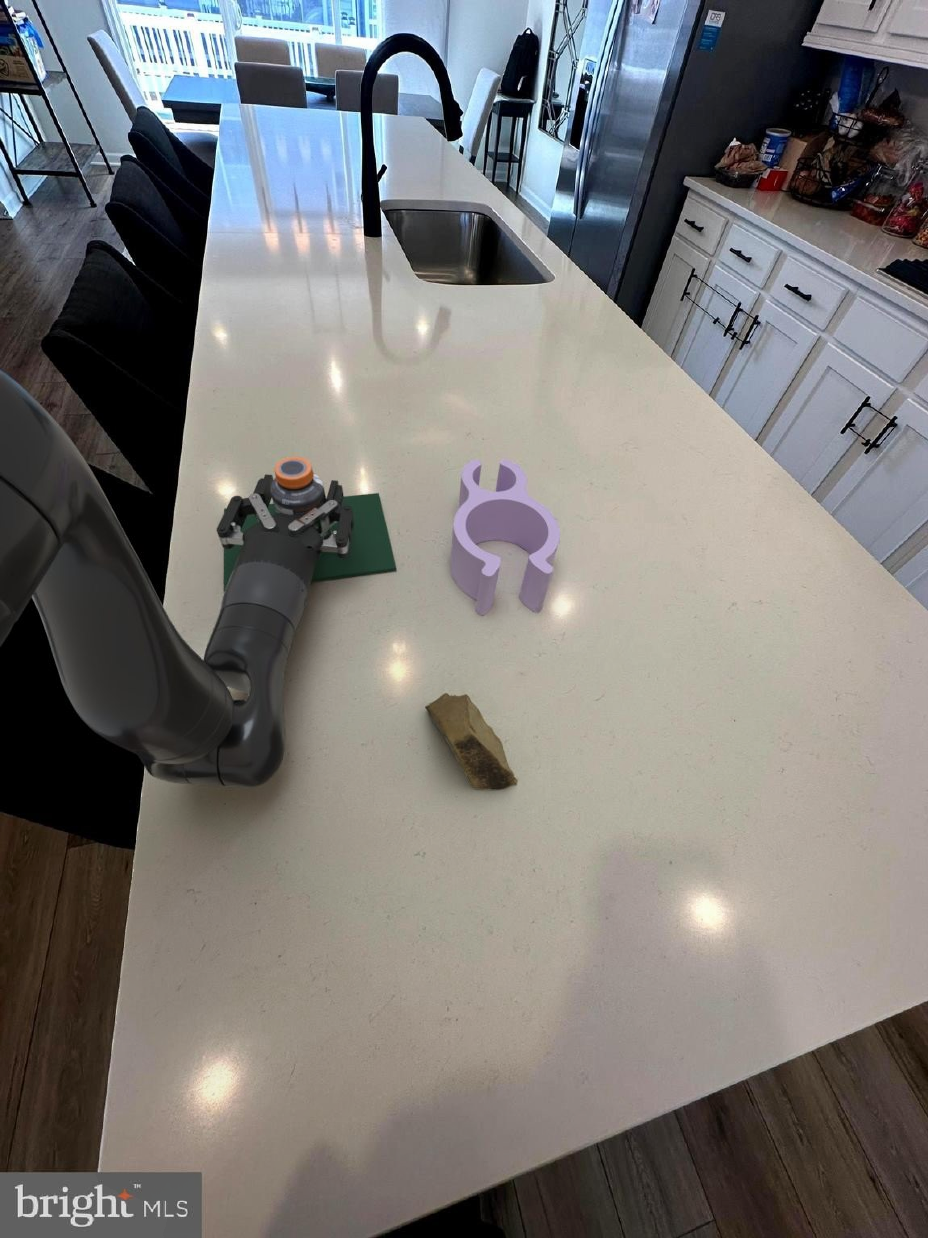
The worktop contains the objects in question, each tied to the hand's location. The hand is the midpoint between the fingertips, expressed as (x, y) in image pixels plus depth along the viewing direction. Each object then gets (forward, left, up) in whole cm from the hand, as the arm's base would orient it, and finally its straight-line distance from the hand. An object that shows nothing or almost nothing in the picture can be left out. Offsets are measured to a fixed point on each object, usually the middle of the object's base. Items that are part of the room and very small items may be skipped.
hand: (303, 483), depth 66 cm
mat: (-1, -2, -7) cm, 8 cm away
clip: (+23, -8, -8) cm, 25 cm away
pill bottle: (-1, -3, -7) cm, 8 cm away
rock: (+12, -33, -8) cm, 36 cm away
